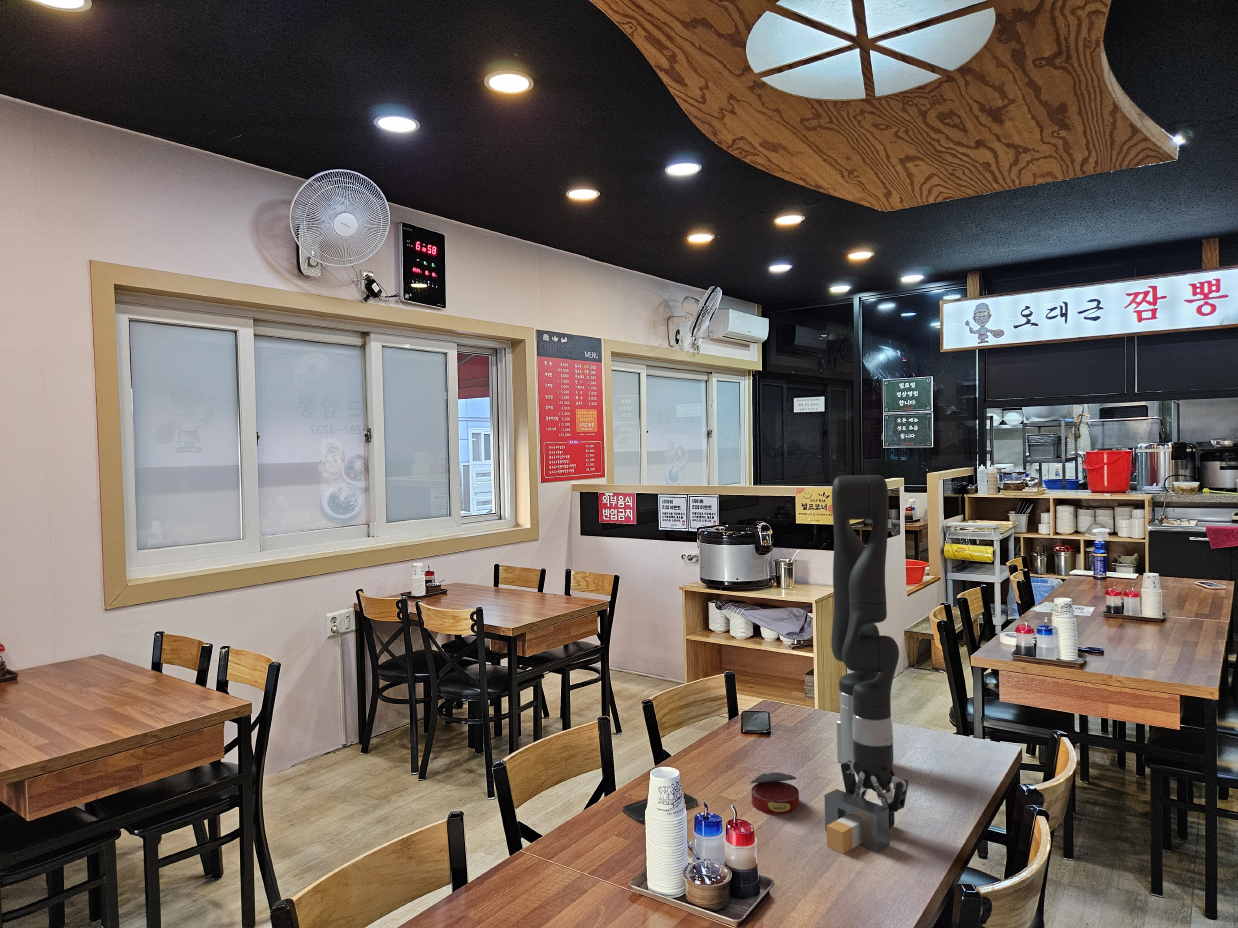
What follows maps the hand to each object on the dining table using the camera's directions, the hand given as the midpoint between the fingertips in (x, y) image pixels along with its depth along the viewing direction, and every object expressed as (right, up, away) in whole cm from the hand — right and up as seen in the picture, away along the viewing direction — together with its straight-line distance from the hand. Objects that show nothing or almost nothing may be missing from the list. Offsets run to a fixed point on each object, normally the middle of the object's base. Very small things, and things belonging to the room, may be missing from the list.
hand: (874, 822), depth 154 cm
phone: (-41, -3, +12) cm, 43 cm away
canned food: (-17, -2, +12) cm, 21 cm away
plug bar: (-4, -1, -3) cm, 5 cm away
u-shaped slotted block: (-5, -1, -4) cm, 6 cm away
